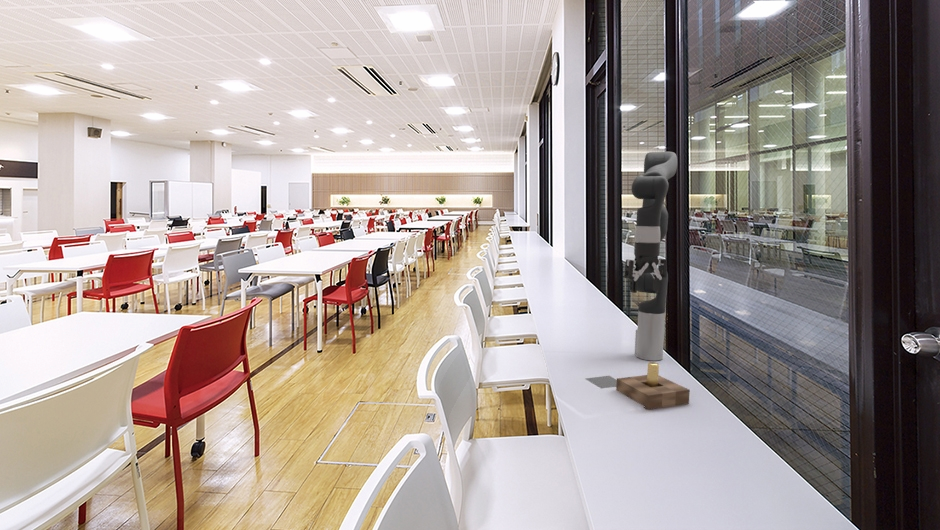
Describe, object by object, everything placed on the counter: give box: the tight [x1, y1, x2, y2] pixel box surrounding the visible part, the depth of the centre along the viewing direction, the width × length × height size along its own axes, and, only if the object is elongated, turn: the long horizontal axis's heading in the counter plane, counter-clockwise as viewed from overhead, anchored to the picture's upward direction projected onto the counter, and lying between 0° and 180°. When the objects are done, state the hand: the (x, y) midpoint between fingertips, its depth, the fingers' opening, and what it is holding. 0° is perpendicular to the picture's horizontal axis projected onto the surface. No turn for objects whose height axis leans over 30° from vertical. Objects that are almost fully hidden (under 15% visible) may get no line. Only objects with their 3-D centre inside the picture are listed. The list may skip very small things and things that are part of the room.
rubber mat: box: [584, 375, 617, 389], centre depth 152 cm, size 9×9×1 cm
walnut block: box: [615, 374, 690, 411], centre depth 141 cm, size 14×14×4 cm
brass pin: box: [646, 361, 660, 387], centre depth 140 cm, size 3×3×10 cm
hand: (644, 291), depth 154 cm, fingers open, 8 cm apart
